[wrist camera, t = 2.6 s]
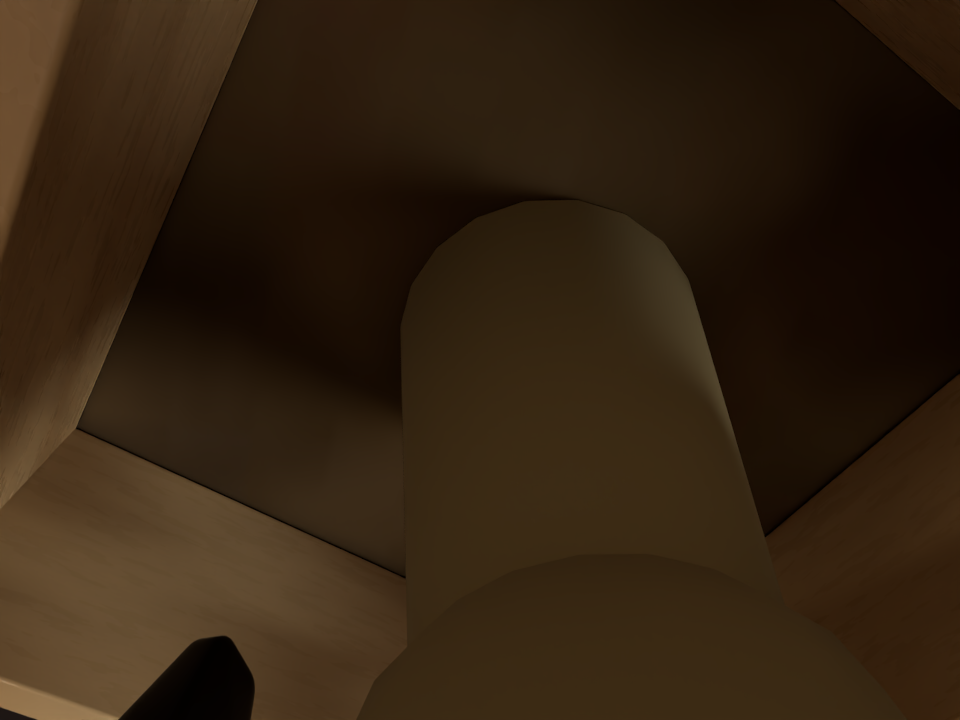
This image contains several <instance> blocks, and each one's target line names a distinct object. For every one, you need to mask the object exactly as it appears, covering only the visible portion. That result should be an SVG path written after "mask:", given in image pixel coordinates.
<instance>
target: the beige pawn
mask: <svg viewBox="0 0 960 720" xmlns="http://www.w3.org/2000/svg"><path fill="white" fill-rule="evenodd" d="M400 332H401V378H402V423H403V468H404V514H405V559H406V604H407V647H406V648H405V649H404V650H403V651H402V653H401V654H400V655H399V656H398V657H397V658H396V659H395V660H394V661H393V662H392V663H391V664H390V665H389V666H388V667H387V668H386V669H385V670H384V671H383V672H382V673H381V674H380V675H379V676H378V677H377V678H376V679H375V680H374V682H373V684H372V686H371V689H370V691H369V693H368V695H367V697H366V699H365V702H364V704H363V706H362V708H361V710H360V712H359V715H358V717H357V719H356V720H907V719H906V717H905V716H904V715H903V713H902V712H901V711H900V709H899V708H898V707H897V706H896V704H895V703H894V702H893V700H892V699H891V698H890V696H889V695H888V694H887V692H886V691H885V690H884V689H883V688H882V686H881V685H880V684H879V683H878V682H877V681H876V680H875V679H874V678H873V676H872V675H871V674H870V673H869V672H868V671H867V670H866V669H865V668H864V667H863V665H862V664H861V663H860V662H859V661H858V660H857V659H856V658H855V657H854V656H853V654H852V653H851V652H850V651H849V650H848V649H847V648H846V647H845V646H844V645H843V643H842V642H841V641H840V640H839V639H838V638H837V637H836V636H835V635H834V634H833V632H831V631H830V630H828V629H826V628H824V627H823V626H821V625H819V624H817V623H815V622H814V621H812V620H810V619H808V618H807V617H805V616H803V615H801V614H800V613H798V612H796V611H794V610H792V609H791V608H789V607H787V606H785V604H784V601H783V597H782V594H781V591H780V587H779V584H778V580H777V577H776V574H775V570H774V567H773V564H772V560H771V557H770V553H769V550H768V547H767V543H766V540H765V537H764V533H763V530H762V526H761V523H760V520H759V516H758V513H757V509H756V506H755V503H754V499H753V496H752V493H751V489H750V486H749V482H748V479H747V476H746V472H745V469H744V466H743V462H742V459H741V455H740V452H739V449H738V445H737V442H736V438H735V435H734V432H733V428H732V425H731V422H730V418H729V415H728V411H727V408H726V405H725V401H724V398H723V394H722V391H721V388H720V384H719V381H718V378H717V374H716V371H715V367H714V364H713V361H712V357H711V354H710V351H709V347H708V344H707V340H706V337H705V334H704V330H703V327H702V323H701V320H700V317H699V313H698V310H697V307H696V303H695V300H694V296H693V293H692V290H691V286H690V283H689V280H688V278H687V276H686V275H685V273H684V272H683V270H682V269H681V267H680V266H679V264H678V263H677V261H676V260H675V258H674V257H673V255H672V254H671V252H670V251H669V249H668V248H667V246H666V245H665V243H664V242H663V241H662V240H660V239H659V238H657V237H656V236H655V235H653V234H652V233H650V232H649V231H648V230H646V229H645V228H644V227H642V226H641V225H639V224H638V223H637V222H635V221H634V220H632V219H631V218H630V217H628V216H627V215H626V214H623V213H619V212H616V211H613V210H609V209H606V208H603V207H599V206H596V205H593V204H589V203H586V202H583V201H579V200H546V201H524V202H521V203H518V204H515V205H512V206H509V207H506V208H503V209H500V210H497V211H495V212H492V213H489V214H486V215H483V216H480V217H477V218H475V219H474V220H473V221H471V222H470V223H469V224H467V225H466V226H465V227H463V228H462V229H461V230H459V231H458V232H457V233H455V234H454V235H453V236H451V237H450V238H449V239H447V240H446V241H445V242H443V243H442V244H441V245H439V246H438V247H437V248H436V250H435V251H434V252H433V254H432V255H431V257H430V258H429V260H428V261H427V263H426V264H425V266H424V267H423V268H422V270H421V271H420V273H419V274H418V276H417V277H416V279H415V280H414V282H413V283H412V285H411V288H410V291H409V295H408V299H407V303H406V307H405V311H404V314H403V318H402V322H401V326H400Z"/></svg>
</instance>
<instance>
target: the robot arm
mask: <svg viewBox="0 0 960 720" xmlns="http://www.w3.org/2000/svg"><path fill="white" fill-rule="evenodd" d="M254 695H255V683H254V678H253V675H252V672H251V671H250V669H249V667H248V665H247V664H246V662H245V660H244V659H243V657H242V655H241V654H240V652H239V650H238V649H237V647H236V645H235V644H234V642H233V641H232V639H231V638H229V637H227V636H223V635H221V636H214V637H207V638H201V639H198V640H195V641H194V642H192V643H191V644H190V645H189V646H188V647H187V648H186V649H185V650H184V651H183V652H182V653H181V654H180V655H179V656H178V657H177V658H176V659H175V660H174V662H173V663H172V664H171V665H170V666H169V667H168V668H167V669H166V670H165V671H164V672H163V673H162V674H161V675H160V676H159V677H158V678H157V679H156V680H155V681H154V682H153V684H152V685H151V686H150V687H149V688H148V689H147V690H146V691H145V692H144V693H143V694H142V695H141V696H140V697H139V698H138V699H137V700H136V701H135V702H134V703H133V704H132V706H131V707H130V708H129V709H128V710H127V711H126V712H125V713H124V714H123V715H122V716H121V717H120V718H119V719H118V720H251V715H252V709H253V702H254Z"/></svg>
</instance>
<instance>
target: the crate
mask: <svg viewBox="0 0 960 720" xmlns="http://www.w3.org/2000/svg"><path fill="white" fill-rule="evenodd" d="M257 1H258V0H0V707H1V708H4V709H7V710H10V711H13V712H16V713H19V714H22V715H25V716H28V717H31V718H34V719H37V720H118V719H119V718H120V717H121V716H122V715H123V714H124V713H125V712H126V711H127V710H128V709H129V708H130V707H131V706H132V704H133V703H134V702H135V701H136V700H137V699H138V698H139V697H140V696H141V695H142V694H143V693H144V692H145V691H146V690H147V689H148V688H149V687H150V686H151V685H152V684H153V682H154V681H155V680H156V679H157V678H158V677H159V676H160V675H161V674H162V673H163V672H164V671H165V670H166V669H167V668H168V667H169V666H170V665H171V664H172V663H173V662H174V660H175V659H176V658H177V657H178V656H179V655H180V654H181V653H182V652H183V651H184V650H185V649H186V648H187V647H188V646H189V645H190V644H191V643H192V642H194V641H195V640H198V639H201V638H207V637H214V636H221V635H223V636H227V637H229V638H231V639H232V641H233V642H234V644H235V645H236V647H237V649H238V650H239V652H240V654H241V655H242V657H243V659H244V660H245V662H246V664H247V665H248V667H249V669H250V671H251V672H252V675H253V678H254V683H255V695H254V702H253V709H252V715H251V720H356V719H357V717H358V715H359V712H360V710H361V708H362V706H363V704H364V702H365V699H366V697H367V695H368V693H369V691H370V689H371V686H372V684H373V682H374V680H375V679H376V678H377V677H378V676H379V675H380V674H381V673H382V672H383V671H384V670H385V669H386V668H387V667H388V666H389V665H390V664H391V663H392V662H393V661H394V660H395V659H396V658H397V657H398V656H399V655H400V654H401V653H402V651H403V650H404V649H405V648H406V647H407V604H406V579H405V578H403V577H401V576H399V575H397V574H394V573H392V572H390V571H388V570H386V569H383V568H381V567H379V566H377V565H375V564H372V563H370V562H368V561H366V560H364V559H361V558H359V557H357V556H355V555H353V554H350V553H348V552H346V551H344V550H342V549H339V548H337V547H335V546H333V545H331V544H328V543H326V542H324V541H322V540H320V539H318V538H315V537H313V536H311V535H309V534H307V533H304V532H302V531H300V530H298V529H296V528H293V527H291V526H289V525H287V524H285V523H282V522H280V521H278V520H276V519H274V518H271V517H269V516H267V515H265V514H263V513H260V512H258V511H256V510H254V509H252V508H249V507H247V506H245V505H243V504H241V503H238V502H236V501H234V500H232V499H230V498H227V497H225V496H223V495H221V494H219V493H217V492H214V491H212V490H210V489H208V488H206V487H203V486H201V485H199V484H197V483H195V482H192V481H190V480H188V479H186V478H184V477H181V476H179V475H177V474H175V473H173V472H170V471H168V470H166V469H164V468H162V467H159V466H157V465H155V464H153V463H151V462H148V461H146V460H144V459H142V458H140V457H137V456H135V455H133V454H131V453H129V452H127V451H124V450H122V449H120V448H118V447H116V446H113V445H111V444H109V443H107V442H105V441H102V440H100V439H98V438H96V437H94V436H91V435H89V434H87V433H85V432H83V431H80V430H78V429H76V427H77V424H78V422H79V420H80V417H81V415H82V413H83V410H84V408H85V406H86V403H87V401H88V399H89V396H90V394H91V392H92V389H93V387H94V384H95V382H96V380H97V377H98V375H99V373H100V370H101V368H102V366H103V363H104V361H105V359H106V356H107V354H108V352H109V349H110V347H111V344H112V342H113V340H114V337H115V335H116V333H117V330H118V328H119V326H120V323H121V321H122V319H123V316H124V314H125V312H126V309H127V307H128V304H129V302H130V300H131V297H132V295H133V293H134V290H135V288H136V286H137V283H138V281H139V279H140V276H141V274H142V272H143V269H144V267H145V264H146V262H147V260H148V257H149V255H150V253H151V250H152V248H153V246H154V243H155V241H156V239H157V236H158V234H159V232H160V229H161V227H162V224H163V222H164V220H165V217H166V215H167V213H168V210H169V208H170V206H171V203H172V201H173V199H174V196H175V194H176V192H177V189H178V187H179V184H180V182H181V180H182V177H183V175H184V173H185V170H186V168H187V166H188V163H189V161H190V159H191V156H192V154H193V152H194V149H195V147H196V144H197V142H198V140H199V137H200V135H201V133H202V130H203V128H204V126H205V123H206V121H207V119H208V116H209V114H210V112H211V109H212V107H213V104H214V102H215V100H216V97H217V95H218V93H219V90H220V88H221V86H222V83H223V81H224V79H225V76H226V74H227V72H228V69H229V67H230V64H231V62H232V60H233V57H234V55H235V53H236V50H237V48H238V46H239V43H240V41H241V39H242V36H243V34H244V32H245V29H246V27H247V24H248V22H249V20H250V17H251V15H252V13H253V10H254V8H255V6H256V3H257ZM835 1H836V2H837V3H839V4H840V5H841V6H842V7H843V8H844V9H845V10H847V11H848V12H849V13H850V14H851V15H852V16H853V17H854V18H856V19H857V20H858V21H859V22H860V23H861V24H862V25H864V26H865V27H866V28H867V29H868V30H869V31H870V32H871V33H873V34H874V35H875V36H876V37H877V38H878V39H879V40H881V41H882V42H883V43H884V44H885V45H886V46H887V47H888V48H890V49H891V50H892V51H893V52H894V53H895V54H896V55H898V56H899V57H900V58H901V59H902V60H903V61H904V62H905V63H907V64H908V65H909V66H910V67H911V68H912V69H913V70H915V71H916V72H917V73H918V74H919V75H920V76H921V77H922V78H924V79H925V80H926V81H927V82H928V83H929V84H930V85H932V86H933V87H934V88H935V89H936V90H937V91H938V92H940V93H941V94H942V95H943V96H944V97H945V98H946V99H947V100H949V101H950V102H951V103H952V104H953V105H954V106H955V107H957V108H958V109H959V110H960V0H835ZM765 540H766V543H767V547H768V550H769V553H770V557H771V560H772V564H773V567H774V570H775V574H776V577H777V580H778V584H779V587H780V591H781V594H782V597H783V601H784V604H785V606H787V607H789V608H791V609H792V610H794V611H796V612H798V613H800V614H801V615H803V616H805V617H807V618H808V619H810V620H812V621H814V622H815V623H817V624H819V625H821V626H823V627H824V628H826V629H828V630H830V631H831V632H833V634H834V635H835V636H836V637H837V638H838V639H839V640H840V641H841V642H842V643H843V645H844V646H845V647H846V648H847V649H848V650H849V651H850V652H851V653H852V654H853V656H854V657H855V658H856V659H857V660H858V661H859V662H860V663H861V664H862V665H863V667H864V668H865V669H866V670H867V671H868V672H869V673H870V674H871V675H872V676H873V678H874V679H875V680H876V681H877V682H878V683H879V684H880V685H881V686H882V688H883V689H884V690H885V691H886V692H887V694H888V695H889V696H890V698H891V699H892V700H893V702H894V703H895V704H896V706H897V707H898V708H899V709H900V711H901V712H902V713H903V715H904V716H905V717H906V719H907V720H960V373H959V374H958V375H957V376H956V377H954V378H953V379H952V380H951V381H950V382H948V383H947V384H946V385H945V386H944V387H943V388H941V389H940V390H939V391H938V392H937V393H935V394H934V395H933V396H932V397H931V398H930V399H928V400H927V401H926V402H925V403H924V404H922V405H921V406H920V407H919V408H918V409H917V410H915V411H914V412H913V413H912V414H911V415H909V416H908V417H907V418H906V419H905V420H904V421H902V422H901V423H900V424H899V425H898V426H896V427H895V428H894V429H893V430H892V431H891V432H889V433H888V434H887V435H886V436H885V437H883V438H882V439H881V440H880V441H879V442H878V443H876V444H875V445H874V446H873V447H872V448H870V449H869V450H868V451H867V452H866V453H865V454H863V455H862V456H861V457H860V458H859V459H857V460H856V461H855V462H854V463H853V464H852V465H850V466H849V467H848V468H847V469H846V470H844V471H843V472H842V473H841V474H840V475H839V476H837V477H836V478H835V479H834V480H833V481H832V482H830V483H829V484H828V485H827V486H826V487H824V488H823V489H822V490H821V491H820V492H819V493H817V494H816V495H815V496H814V497H813V498H811V499H810V500H809V501H808V502H807V503H806V504H804V505H803V506H802V507H801V508H800V509H798V510H797V511H796V512H795V513H794V514H793V515H791V516H790V517H789V518H788V519H787V520H785V521H784V522H783V523H782V524H781V525H780V526H778V527H777V528H776V529H775V530H774V531H772V532H771V533H770V534H769V535H768V536H767V537H765Z"/></svg>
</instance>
